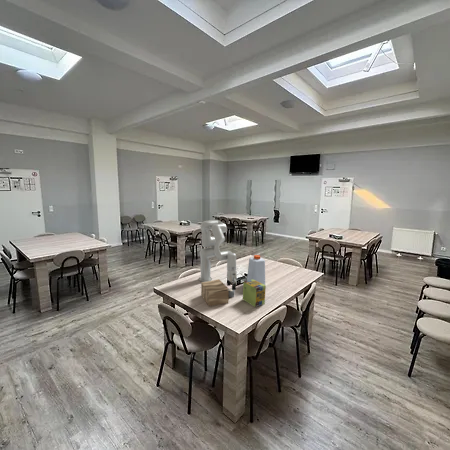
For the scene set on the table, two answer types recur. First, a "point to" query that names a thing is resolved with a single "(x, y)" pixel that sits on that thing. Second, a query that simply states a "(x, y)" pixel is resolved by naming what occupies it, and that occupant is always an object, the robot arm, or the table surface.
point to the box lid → (214, 286)
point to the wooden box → (214, 297)
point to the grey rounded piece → (231, 293)
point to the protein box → (254, 292)
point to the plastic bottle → (256, 269)
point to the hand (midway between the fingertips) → (231, 287)
